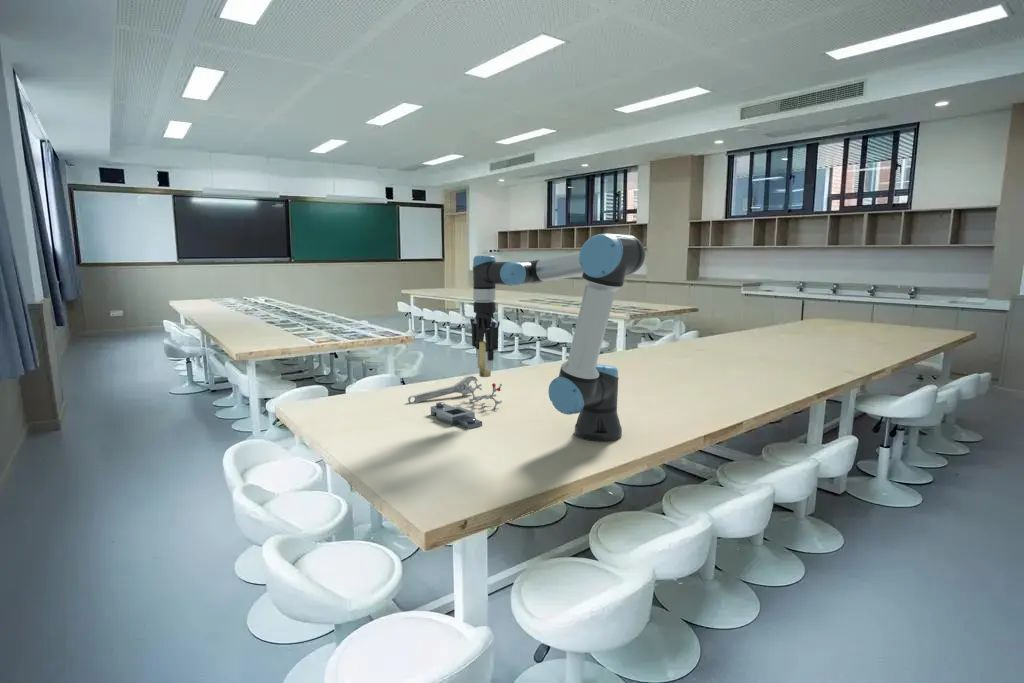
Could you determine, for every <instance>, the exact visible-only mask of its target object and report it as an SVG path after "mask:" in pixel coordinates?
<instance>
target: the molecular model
mask: <svg viewBox="0 0 1024 683" xmlns="http://www.w3.org/2000/svg"><path fill="white" fill-rule="evenodd" d="M473 382H474V383H473V384H475V387H473V386H472V385H471V384H469V386H467V383H466V382H465V383H464V385H465V386H466V389H465V390H463V393H465V391H466V390H470V391H468V393H470V394H472V398H471V397H469V399H468V400H469V403H470V404H472V402H473V401H475V402H479V401H482V400H484V399H485V400H489V399H490V400H493V401H494V403H495V404H494V406H493V409H495V410H496V409H497V405H500V404H502V403H503V400H501V399H500V400H496V399H495V398H494V397H497V394H495V392H497V391H498V392H500V391H501V388H502V386H503V383H500V384H499V386H498V387H497V385H496V383H494V382H493V383H492V384H491V387H492V392H491V393H490V394H484V395H477V396H475V394H474V393H475V391H476V389H478V390H479V391H482V390H483V388H482V385H483V384H482V383H479V384H478V381H473ZM471 387H472V388H474V389H473V390H472V389H470V388H471ZM474 390H475V391H474Z"/></svg>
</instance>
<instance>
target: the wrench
mask: <svg viewBox="0 0 1024 683" xmlns="http://www.w3.org/2000/svg"><path fill="white" fill-rule="evenodd" d="M472 381H473V382H475V381H476V382H478V381H479V380H478V378H477V377H476V376H473V375H467V376H465V377H464V378H463V379H461V380H459V382H457V383H455V384H454V385H450V386H445V387H442V388H437V389H433V390H428V391H425V392H422V393H421V392H420V393H416V394H412V395H410V396H409V397H408V398H407V401H408V403H409V404H416V403H421V402H425V401H428V400H431V399H432V400H433V399H437V398H439V397H444V396H447V395H451V394H455V393H456V394H457V393H458V394H461V396H462V397H467V395H469V394H471V393H468V391H470V390H466V391H465V393H463V390H465V389H466V386H465V385H464V383H465V382H466V383H467V386H470V383H471V382H472ZM474 388H475V387H473V386H472V387H471V388H470V389H472V390H473V389H474ZM475 391H476V389H475V390H474V392H475ZM412 398H414V400H413V401H411V399H412Z"/></svg>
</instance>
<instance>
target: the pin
mask: <svg viewBox="0 0 1024 683" xmlns="http://www.w3.org/2000/svg"><path fill="white" fill-rule="evenodd" d="M485 350H487V346H486V340H484V341H480V342H479V368H478V369H479V370H478V374H479V377H480V378H489V377H492V376H491V375H492V369H491V370H485Z"/></svg>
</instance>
